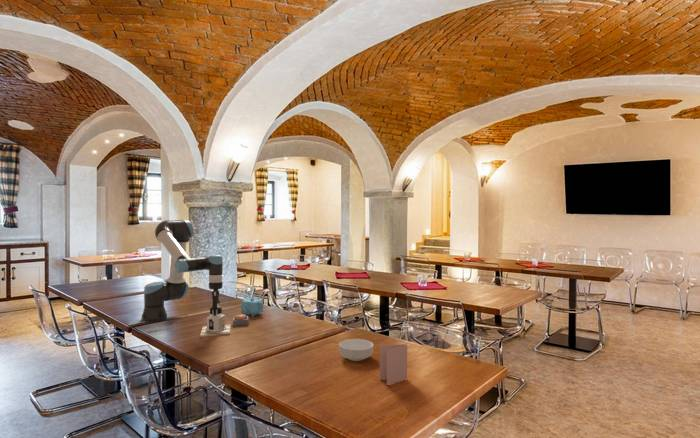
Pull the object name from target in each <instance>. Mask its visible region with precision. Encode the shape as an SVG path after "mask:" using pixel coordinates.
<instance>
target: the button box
mask: <svg viewBox="0 0 700 438" xmlns="http://www.w3.org/2000/svg"><path fill="white" fill-rule="evenodd" d="M232 326H233V327H239V326H240V327H242V326H249V315H248V316H246V319H243V320H236V316H233V318H232Z"/></svg>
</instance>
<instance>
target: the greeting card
mask: <svg viewBox="0 0 700 438" xmlns="http://www.w3.org/2000/svg"><path fill="white" fill-rule="evenodd" d="M380 379H387V380H386V386H387V385H390V384H393V383H396V382H399V381H402V380H405V379H407V380H408V344H379V380H380ZM405 381H406V380H405ZM402 382H403V381H402ZM399 383H400V382H399ZM396 384H397V383H396ZM393 385H394V384H393ZM390 386H391V385H390Z"/></svg>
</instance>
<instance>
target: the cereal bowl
mask: <svg viewBox="0 0 700 438" xmlns="http://www.w3.org/2000/svg"><path fill="white" fill-rule="evenodd" d="M374 347H375V345H374V343H373V342H372V341H370V340H367V339H361V338H350V339H349V338H348V339H344V340H342V341H340V342H339V343H338V350H339V353H340V354H341V356H342V357H344V358H345V359H348V360H349V361H353V362H360V361H364V360H366V359H367V358H369V357H371V356H372V354H373V353H374Z"/></svg>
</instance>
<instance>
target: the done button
mask: <svg viewBox="0 0 700 438" xmlns="http://www.w3.org/2000/svg"><path fill="white" fill-rule="evenodd" d="M235 317H236V320H243V319H246V315H245V314H242V313H240V314H237V315H235Z"/></svg>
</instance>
